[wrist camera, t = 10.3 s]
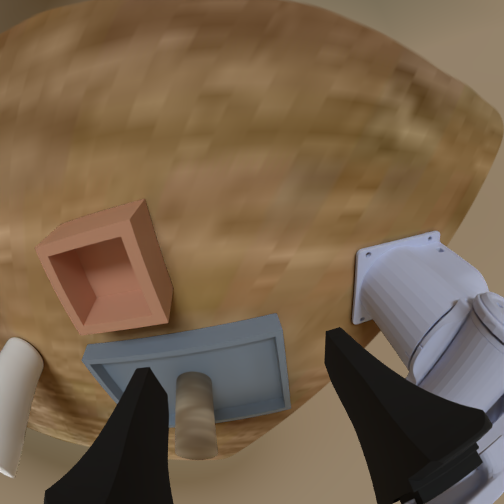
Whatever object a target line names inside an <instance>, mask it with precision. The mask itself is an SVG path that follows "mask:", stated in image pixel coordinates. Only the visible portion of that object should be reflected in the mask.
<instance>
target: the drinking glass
mask: <svg viewBox="0 0 504 504" xmlns="http://www.w3.org/2000/svg"><path fill="white" fill-rule="evenodd" d="M43 367H44V364H43V360H42V357H41V356H40V354H39V353H38V351H37V350H36V349H35V348H34V347H33V346H32V345H31V344H29V343H28V342H27V341H25V340H23V339H21V338H17V337H12V338H10V339H8V341H7V342H6V344H5V345H4V347H3V349H2V350H1V352H0V472H1V473H3V474H5V475H7V476H9V477H11V478H15V477H16V473H17V469H18V466H19V462H20V458H21V453H22V449H23V443H24V438H25V433H26V428H27V423H28V418H29V414H30V410H31V405H32V402H33V398H34V394H35V390H36V387H37V384H38V380H39V378H40V375H41V373H42V371H43Z"/></svg>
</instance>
